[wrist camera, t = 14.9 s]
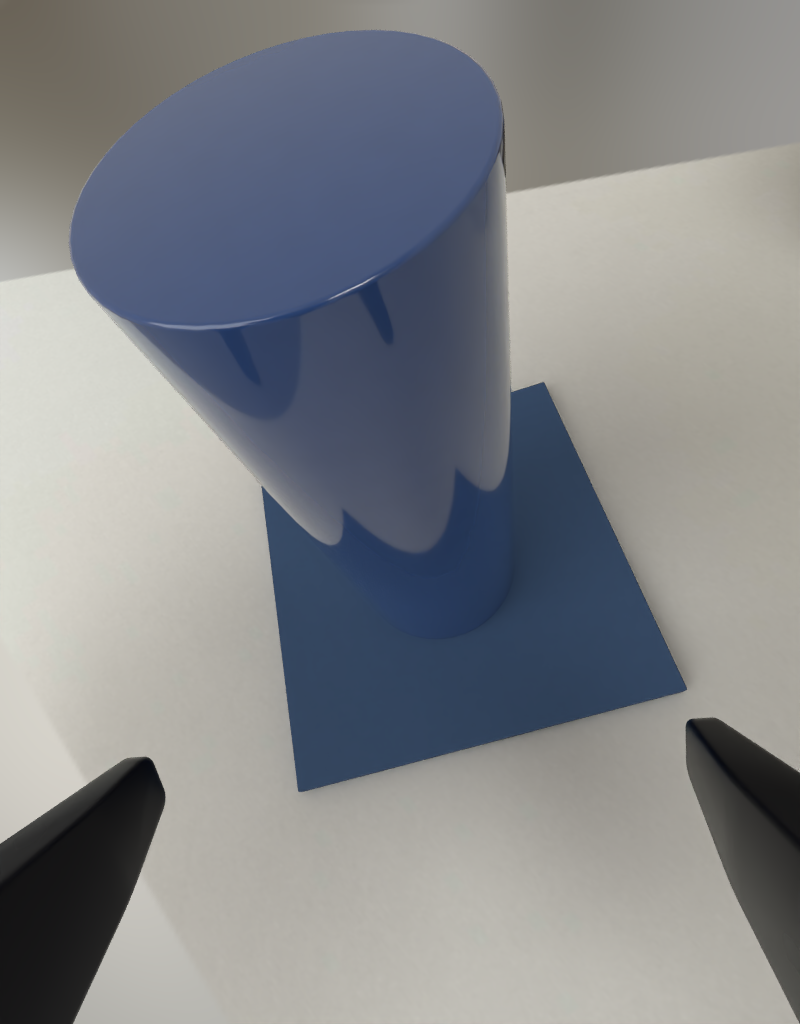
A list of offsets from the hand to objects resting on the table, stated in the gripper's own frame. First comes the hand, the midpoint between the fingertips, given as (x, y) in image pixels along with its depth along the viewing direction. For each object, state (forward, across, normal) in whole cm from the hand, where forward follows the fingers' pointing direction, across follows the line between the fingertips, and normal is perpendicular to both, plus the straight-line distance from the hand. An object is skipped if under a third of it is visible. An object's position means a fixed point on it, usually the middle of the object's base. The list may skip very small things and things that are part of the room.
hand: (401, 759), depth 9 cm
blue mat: (+10, 0, +1) cm, 11 cm away
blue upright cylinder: (+10, 0, +1) cm, 10 cm away
